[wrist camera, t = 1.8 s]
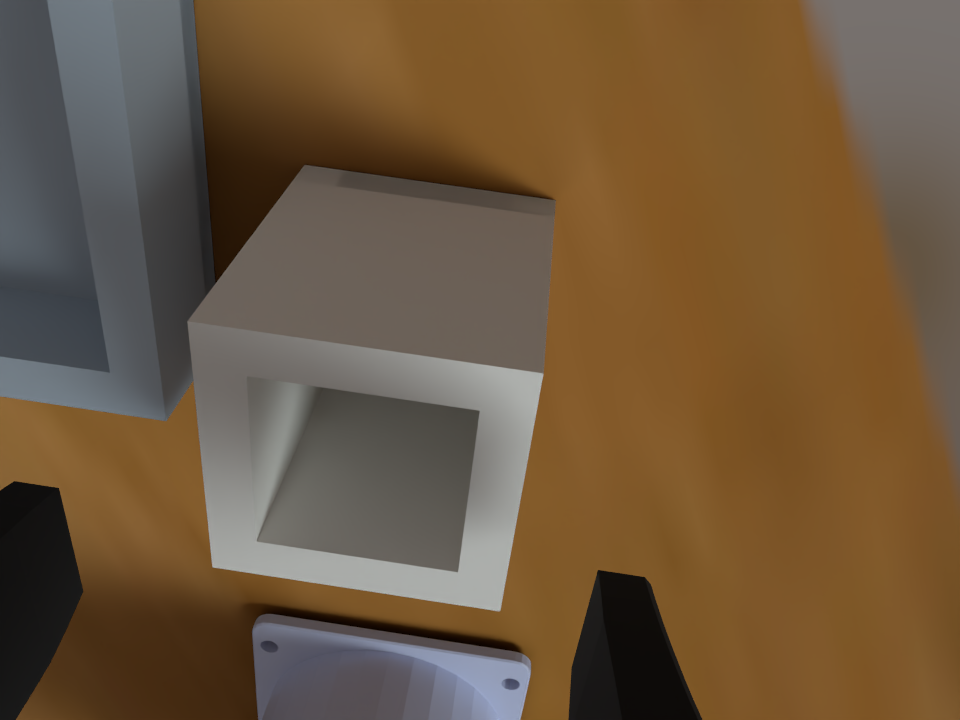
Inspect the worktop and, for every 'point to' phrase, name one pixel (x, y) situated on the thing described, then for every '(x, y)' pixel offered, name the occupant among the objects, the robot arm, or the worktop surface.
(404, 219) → the box
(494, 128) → the worktop surface
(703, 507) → the worktop surface
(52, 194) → the big crate
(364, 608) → the worktop surface
